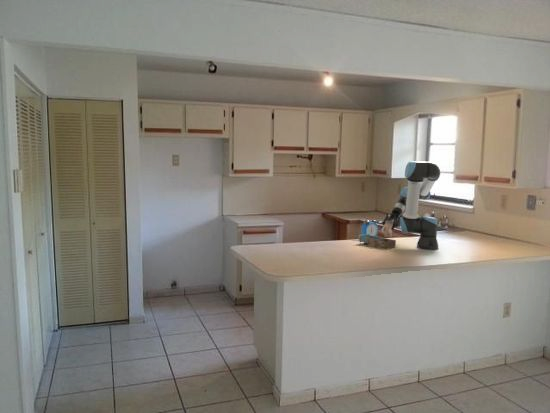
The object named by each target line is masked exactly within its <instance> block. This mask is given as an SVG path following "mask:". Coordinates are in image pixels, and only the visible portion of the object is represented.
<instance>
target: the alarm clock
mask: <svg viewBox="0 0 550 413" xmlns="http://www.w3.org/2000/svg"><path fill="white" fill-rule="evenodd" d="M360 230H361V235H364V234H370V235H371V236H377V237H378V233H379V230H380V229H379V226H378V224H377V220H376V219H371V220H368V219H366V220H364V221H363V224H362V226H361V229H360Z"/></svg>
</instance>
